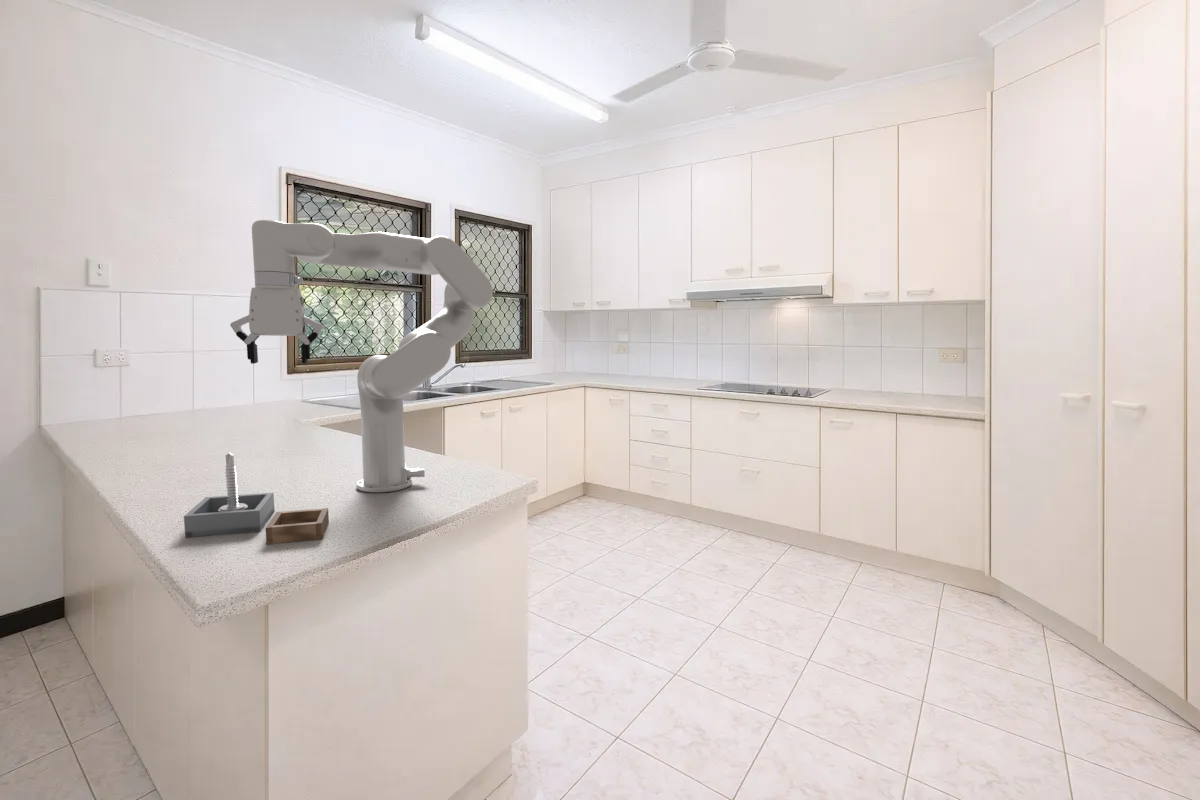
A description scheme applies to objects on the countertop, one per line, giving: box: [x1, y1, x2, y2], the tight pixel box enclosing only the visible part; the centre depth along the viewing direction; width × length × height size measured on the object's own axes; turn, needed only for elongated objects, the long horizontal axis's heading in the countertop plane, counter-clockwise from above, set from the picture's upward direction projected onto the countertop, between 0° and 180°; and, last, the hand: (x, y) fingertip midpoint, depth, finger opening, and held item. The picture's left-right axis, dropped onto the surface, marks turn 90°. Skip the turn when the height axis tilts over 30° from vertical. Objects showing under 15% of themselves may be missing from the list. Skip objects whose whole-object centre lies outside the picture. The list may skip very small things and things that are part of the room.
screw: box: [218, 452, 248, 512], centre depth 110 cm, size 13×5×5 cm
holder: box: [265, 507, 330, 545], centre depth 106 cm, size 9×9×3 cm
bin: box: [183, 492, 275, 539], centre depth 111 cm, size 12×12×4 cm
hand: (279, 363), depth 122 cm, fingers open, 9 cm apart
